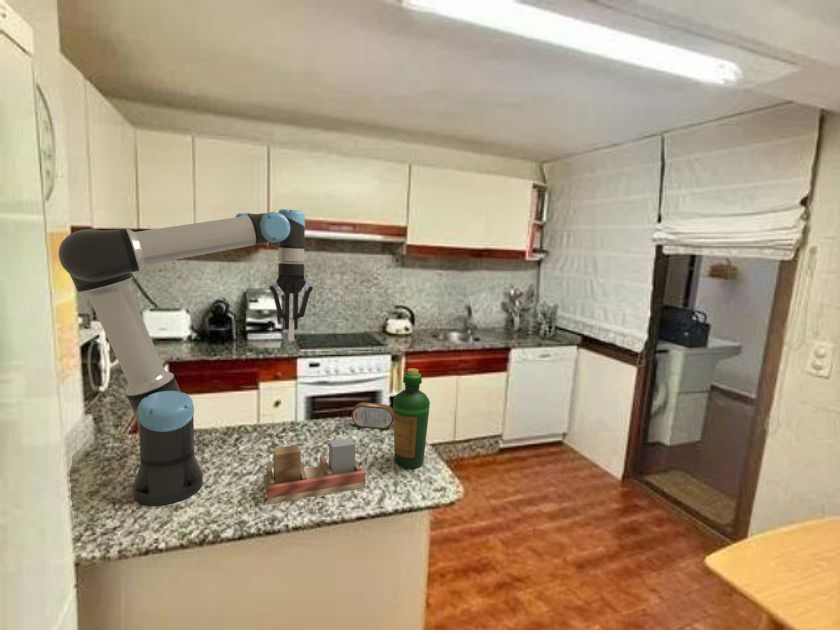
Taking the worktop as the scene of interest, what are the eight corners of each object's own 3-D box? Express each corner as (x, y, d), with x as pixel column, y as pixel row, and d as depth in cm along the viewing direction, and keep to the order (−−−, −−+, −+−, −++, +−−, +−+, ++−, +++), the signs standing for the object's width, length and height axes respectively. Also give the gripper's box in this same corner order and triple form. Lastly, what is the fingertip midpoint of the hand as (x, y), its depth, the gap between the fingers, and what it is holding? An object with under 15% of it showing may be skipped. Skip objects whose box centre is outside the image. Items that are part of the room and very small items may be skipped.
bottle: (386, 456, 135) (389, 365, 131) (419, 452, 139) (423, 364, 135) (396, 473, 125) (400, 376, 121) (432, 468, 129) (437, 373, 125)
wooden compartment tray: (268, 504, 108) (268, 486, 107) (263, 480, 118) (263, 463, 118) (364, 487, 117) (365, 471, 117) (352, 466, 128) (353, 451, 127)
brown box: (275, 489, 111) (275, 455, 110) (273, 480, 115) (273, 447, 114) (300, 485, 113) (300, 451, 112) (297, 476, 117) (297, 443, 116)
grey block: (331, 480, 117) (332, 447, 115) (328, 471, 121) (328, 439, 119) (354, 476, 119) (355, 444, 118) (349, 468, 123) (350, 437, 122)
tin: (394, 427, 157) (395, 404, 156) (393, 431, 154) (394, 407, 153) (352, 423, 159) (353, 400, 157) (350, 427, 156) (350, 403, 154)
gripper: (311, 262, 141) (310, 336, 144) (267, 261, 136) (267, 338, 139) (315, 264, 134) (314, 341, 138) (269, 262, 129) (269, 343, 132)
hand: (290, 339), depth 138 cm, fingers closed
